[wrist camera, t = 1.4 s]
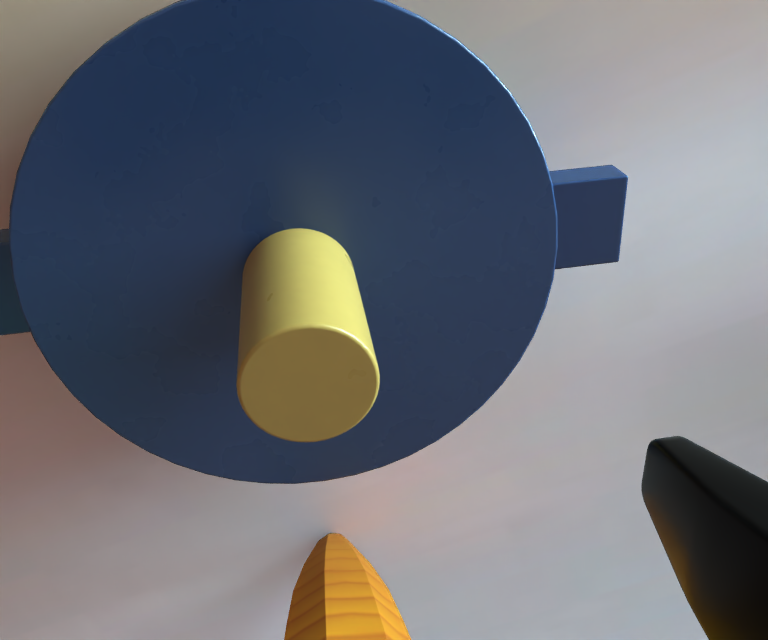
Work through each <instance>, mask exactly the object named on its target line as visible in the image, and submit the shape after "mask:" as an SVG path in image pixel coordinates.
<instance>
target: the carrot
mask: <svg viewBox="0 0 768 640" xmlns="http://www.w3.org/2000/svg"><path fill="white" fill-rule="evenodd" d="M284 640H411V638H410V636H409V633H408V631H407V628H406V626H405V623H404V621H403V619H402V617H401V615H400V613H399V610H398V608H397V606H396V604H395V602H394V600H393V598H392V595H391V593H390V591H389V589H388V588H387V586H386V585H385V583H384V582H383V581H382V579H381V578H380V576H379V575H378V574H377V572H376V571H375V569H374V568H373V567H372V565H371V564H370V562H369V561H368V560H367V559H366V558H365V557H364V556H363V555H362V554H361V553H360V552H359V551H358V550H357V549H356V548H355V547H354V546H353V545H352V544H351V543H350V542H349V541H348V540H347V539H346V538H345V537H343V536H342V535H341V534H336V533H330V534H328V535H326V536H325V537H323V538H322V539H320V540H319V541H318V542H317V544H316V546H315V547H314V549H313V550H312V552H311V554H310V555H309V557H308V559H307V560H306V562H305V563H304V566H303V568H302V571H301V573H300V576H299V578H298V580H297V583H296V585H295V588H294V590H293V595H292V600H291V605H290V610H289V615H288V620H287V625H286V632H285V638H284Z"/></svg>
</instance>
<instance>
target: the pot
mask: <svg viewBox="0 0 768 640" xmlns="http://www.w3.org/2000/svg"><path fill="white" fill-rule="evenodd" d="M549 173H550V177H551V180H552V183H553V190H554V196H555V203H556V210H557V255H556V262H555V269H561V268H570V267H578V266H586V265H595V264H603V263H612V262H618V261H619V253H620V244H621V235H622V226H623V217H624V208H625V199H626V190H627V182H628V176H627V175H625V174H624V173H623V172H621V171H620V170H619V169H617V168H616V167H614V166H613V165H605V166H596V167H586V168H577V169H567V170H558V171H549ZM24 332H31V331H30V329H29V326H28V324H27V322H26V319H25V317H24V315H23V312H22V310H21V306H20V303H19V299H18V295H17V292H16V288H15V284H14V281H13V276H12V268H11V259H10V250H9V229H1V230H0V335H7V334H16V333H24Z"/></svg>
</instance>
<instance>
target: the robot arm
mask: <svg viewBox="0 0 768 640" xmlns="http://www.w3.org/2000/svg"><path fill="white" fill-rule="evenodd" d="M642 496H643V499H644V502H645V505H646V507H647V509H648V512H649V514H650V516H651V519H652V521H653V523H654V526H655V528H656V530H657V533H658V535H659V537H660V539H661V542H662V544H663V546H664V549H665V551H666V553H667V556H668V558H669V560H670V563H671V565H672V567H673V569H674V572H675V574H676V576H677V579H678V581H679V583H680V586H681V588H682V590H683V592H684V594H685V596H686V598H687V601H688V603H689V604H690V606H691V608H692V610H693V612H694V614H695V616H696V618H697V619H698V621H699V623H700V625H701V626H702V628H703V630H704V632H705V633H706V635H707V637H708V639H709V640H768V482H767V481H765V480H763V479H761V478H759V477H757V476H755V475H754V474H752V473H750V472H748V471H746V470H744V469H742V468H740V467H739V466H737V465H735V464H733V463H731V462H729V461H727V460H725V459H724V458H722V457H720V456H718V455H716V454H714V453H712V452H710V451H709V450H707V449H705V448H703V447H701V446H699V445H697V444H695V443H694V442H692V441H690V440H688V439H686V438H684V437H681V436H673V437H666V438H659V439H655V440H653V441H651V442H650V444H649V445H648V449H647V454H646V460H645V466H644V472H643V478H642Z"/></svg>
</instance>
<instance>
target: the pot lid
mask: <svg viewBox="0 0 768 640" xmlns="http://www.w3.org/2000/svg"><path fill="white" fill-rule="evenodd" d="M9 250H10V259H11V268H12V276H13V281H14V284H15V288H16V292H17V295H18V299H19V303H20V306H21V310H22V312H23V315H24V317H25V319H26V322H27V324H28V326H29V329H30V331H31V333H32V336H33V338H34V340H35V342H36V344H37V345H38V347H39V349H40V350H41V352H42V354H43V355H44V357H45V359H46V360H47V362H48V364H49V365H50V367H51V368H52V370H53V371H54V372H55V374H56V375H57V376H58V377H59V379H60V380H61V381H62V382H63V384H64V385H65V386H66V387H67V388H68V390H69V391H70V392H71V393H72V395H73V396H74V397H75V398H77V399H78V400H79V401H80V402H81V403H82V404H83V405H84V406H85V407H86V408H87V409H88V410H89V411H90V412H91V413H92V414H93V415H94V416H95V417H96V418H98V419H99V420H100V421H102V422H103V423H104V424H106V425H107V426H108V427H110V428H111V429H112V430H114V431H115V432H116V433H118V434H119V435H120V436H122V437H124V438H125V439H127V440H129V441H130V442H132V443H134V444H136V445H137V446H139V447H141V448H142V449H144V450H146V451H148V452H150V453H152V454H154V455H156V456H159V457H161V458H163V459H165V460H168V461H170V462H172V463H174V464H177V465H180V466H183V467H186V468H189V469H192V470H195V471H198V472H201V473H205V474H209V475H214V476H218V477H223V478H228V479H232V480H239V481H248V482H257V483H284V484H296V483H307V482H318V481H327V480H332V479H337V478H342V477H348V476H353V475H357V474H360V473H363V472H367V471H370V470H373V469H377V468H380V467H383V466H386V465H388V464H390V463H393V462H395V461H398V460H400V459H402V458H405V457H407V456H410V455H412V454H413V453H415V452H417V451H419V450H421V449H423V448H425V447H426V446H428V445H430V444H432V443H434V442H436V441H437V440H439V439H440V438H442V437H443V436H444V435H446V434H447V433H449V432H450V431H452V430H453V429H455V428H456V427H458V426H459V425H460V424H462V423H463V422H464V421H465V420H466V419H467V418H469V417H470V416H471V415H472V414H473V413H474V412H476V411H477V410H478V409H479V408H480V407H481V406H482V405H483V404H484V403H485V402H486V401H487V400H488V399H489V398H490V397H491V396H492V395H493V394H494V393H495V392H496V391H497V389H498V388H499V387H500V386H501V385H502V384H503V383H504V381H505V380H506V379H507V377H508V376H509V374H510V373H511V372H512V370H513V369H514V368H515V366H516V365H517V364H518V362H519V361H520V359H521V357H522V356H523V354H524V352H525V350H526V349H527V347H528V345H529V343H530V342H531V340H532V338H533V336H534V334H535V332H536V329H537V327H538V325H539V322H540V320H541V317H542V315H543V313H544V310H545V308H546V304H547V300H548V297H549V293H550V289H551V285H552V282H553V277H554V270H555V262H556V255H557V210H556V203H555V196H554V190H553V183H552V180H551V177H550V173H549V170H548V166H547V163H546V160H545V156H544V153H543V151H542V148H541V146H540V144H539V142H538V140H537V137H536V135H535V133H534V131H533V129H532V127H531V124H530V122H529V120H528V119H527V117H526V116H525V114H524V113H523V111H522V110H521V108H520V106H519V105H518V103H517V102H516V100H515V99H514V97H513V96H512V94H511V93H510V91H509V90H508V89H507V88H506V87H505V85H504V84H503V83H502V82H501V81H500V80H499V79H498V77H497V76H496V75H495V74H494V73H493V72H492V71H491V69H490V68H489V67H488V66H487V65H486V64H485V63H484V62H483V61H482V60H481V59H479V58H478V57H477V56H476V55H475V54H474V53H472V52H471V51H470V50H469V49H468V48H466V47H465V46H464V45H463V44H462V43H461V42H459V41H458V40H457V39H456V38H454V37H453V36H451V35H450V34H448V33H446V32H445V31H443V30H442V29H440V28H439V27H437V26H435V25H434V24H432V23H431V22H429V21H427V20H426V19H424V18H423V17H421V16H420V15H417V14H415V13H413V12H411V11H408V10H406V9H404V8H402V7H399V6H397V5H395V4H393V3H390V2H388V1H386V0H180V1H178V2H175V3H173V4H171V5H169V6H167V7H165V8H163V9H161V10H159V11H156V12H154V13H152V14H150V15H148V16H146V17H144V18H142V19H140V20H138V21H137V22H135V23H134V24H133V25H131V26H130V27H128V28H127V29H125V30H124V31H122V32H121V33H119V34H118V35H116V36H115V37H113V38H112V39H110V40H109V41H107V42H106V43H105V44H104V45H103V46H101V47H100V48H99V49H98V50H97V51H96V52H95V53H94V54H93V55H92V56H91V57H90V58H88V59H87V60H86V61H85V62H84V63H83V64H82V65H81V66H80V67H79V68H78V69H76V70H75V71H74V72H73V74H72V75H71V76H70V77H69V79H68V80H67V81H66V82H65V84H64V85H63V86H62V87H61V89H60V90H59V91H58V92H57V94H56V95H55V96H54V97H53V99H52V100H51V101H50V102H49V104H48V106H47V108H46V109H45V111H44V113H43V115H42V116H41V118H40V120H39V122H38V123H37V125H36V127H35V129H34V131H33V132H32V134H31V136H30V138H29V141H28V144H27V146H26V149H25V152H24V154H23V157H22V160H21V162H20V165H19V168H18V171H17V175H16V180H15V185H14V190H13V195H12V200H11V205H10V220H9Z"/></svg>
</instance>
